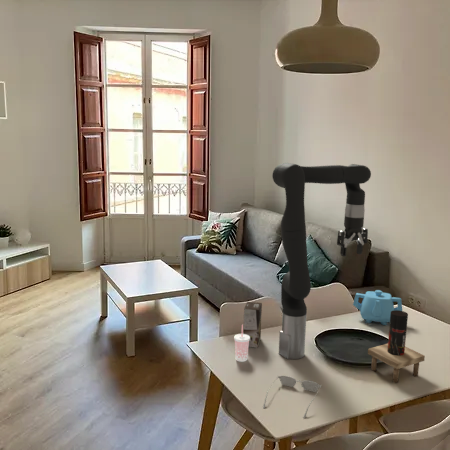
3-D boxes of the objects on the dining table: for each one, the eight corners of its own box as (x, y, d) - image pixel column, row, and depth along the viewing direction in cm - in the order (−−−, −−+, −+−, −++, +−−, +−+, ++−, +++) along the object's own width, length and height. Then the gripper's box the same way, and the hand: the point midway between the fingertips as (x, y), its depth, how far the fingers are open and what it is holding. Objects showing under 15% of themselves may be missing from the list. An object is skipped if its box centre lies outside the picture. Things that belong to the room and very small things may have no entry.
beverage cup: (252, 360, 203) (253, 325, 201) (238, 363, 200) (239, 328, 197) (243, 354, 208) (244, 320, 206) (230, 357, 205) (231, 323, 203)
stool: (395, 385, 186) (397, 363, 185) (366, 368, 198) (368, 348, 197) (422, 376, 193) (424, 355, 192) (393, 360, 205) (394, 341, 204)
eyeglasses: (320, 394, 180) (321, 383, 179) (307, 420, 164) (307, 409, 163) (277, 384, 186) (277, 374, 185) (260, 409, 170) (260, 398, 169)
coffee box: (258, 347, 215) (259, 309, 211) (242, 346, 216) (243, 308, 213) (261, 338, 223) (262, 302, 220) (246, 337, 225) (247, 301, 221)
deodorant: (402, 357, 190) (405, 317, 187) (385, 352, 193) (388, 313, 190) (406, 351, 195) (409, 312, 192) (389, 347, 198) (393, 309, 195)
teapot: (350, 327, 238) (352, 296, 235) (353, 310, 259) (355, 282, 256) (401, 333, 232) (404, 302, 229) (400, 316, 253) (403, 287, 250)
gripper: (347, 218, 203) (344, 259, 206) (374, 215, 211) (371, 255, 214) (334, 214, 210) (331, 254, 213) (360, 212, 217) (357, 251, 220)
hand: (351, 255), depth 213 cm, fingers open, 8 cm apart
